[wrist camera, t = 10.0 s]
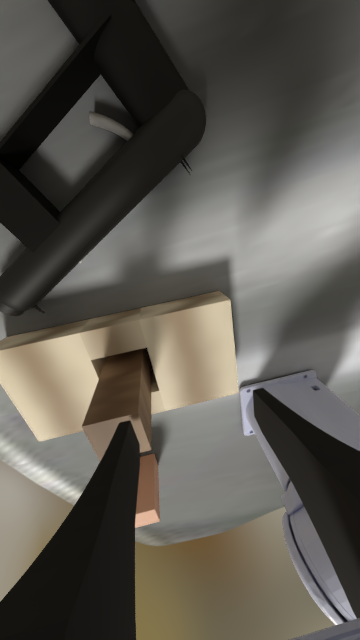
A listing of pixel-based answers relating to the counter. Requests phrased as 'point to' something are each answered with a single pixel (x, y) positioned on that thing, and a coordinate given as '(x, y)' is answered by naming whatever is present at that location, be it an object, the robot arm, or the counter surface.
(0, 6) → the counter surface
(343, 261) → the counter surface
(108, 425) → the walnut peg
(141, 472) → the salmon brown flat block
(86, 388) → the socket block
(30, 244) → the door handle
